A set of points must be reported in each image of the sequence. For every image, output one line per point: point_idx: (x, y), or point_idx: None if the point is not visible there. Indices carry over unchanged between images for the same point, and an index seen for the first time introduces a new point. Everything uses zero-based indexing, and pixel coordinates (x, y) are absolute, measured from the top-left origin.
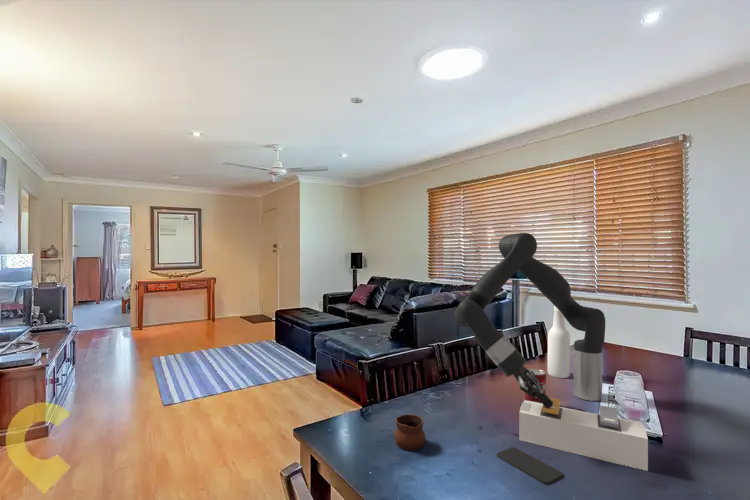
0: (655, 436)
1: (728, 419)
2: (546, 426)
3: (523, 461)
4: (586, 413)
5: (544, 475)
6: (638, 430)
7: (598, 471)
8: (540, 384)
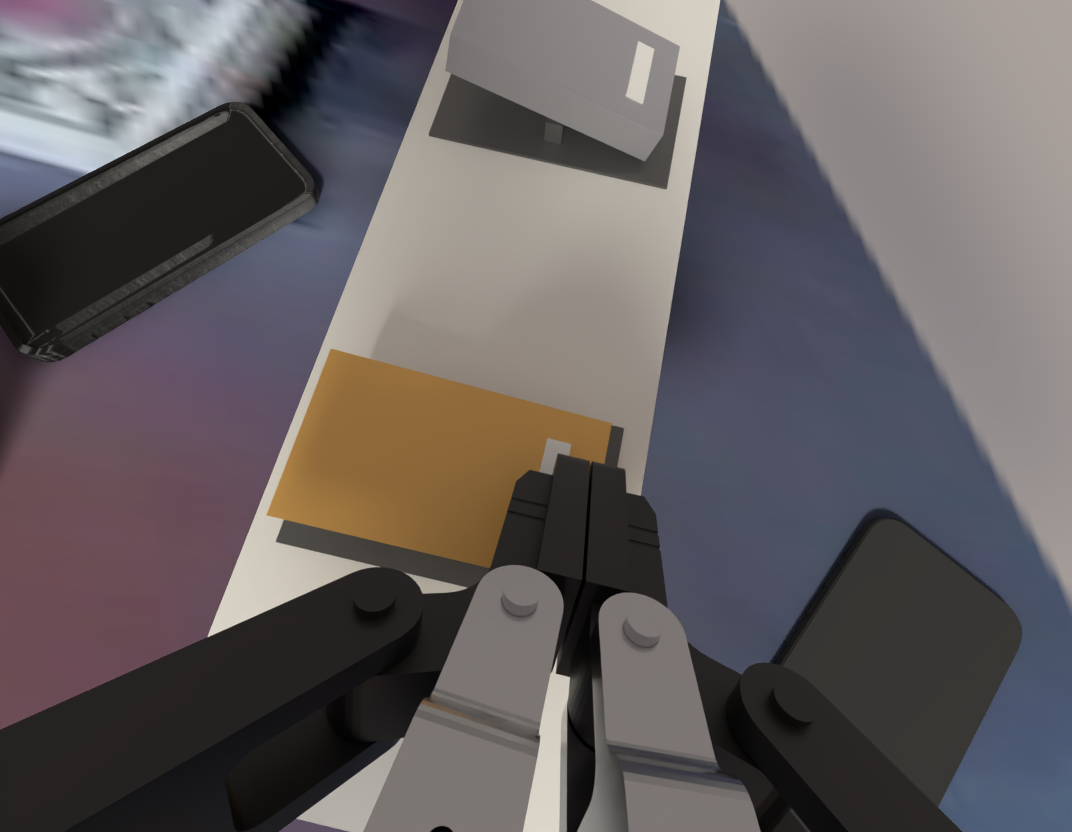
0: (302, 7)
1: None
2: None
3: None
4: (417, 199)
5: (960, 624)
6: None
7: (754, 338)
8: (334, 621)
